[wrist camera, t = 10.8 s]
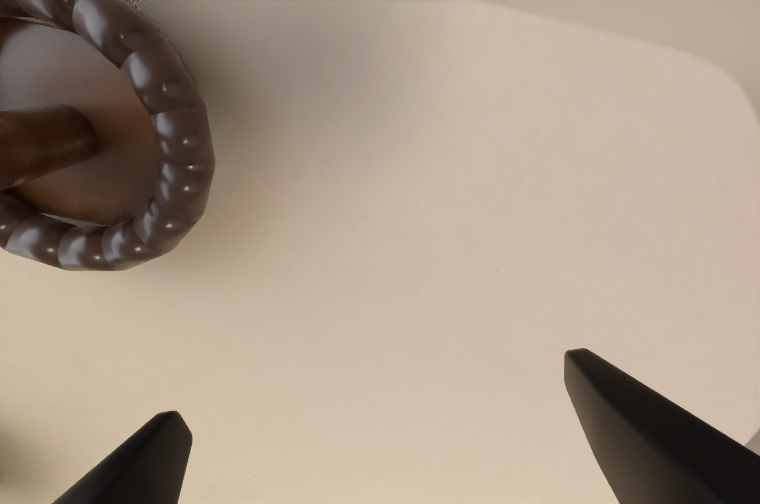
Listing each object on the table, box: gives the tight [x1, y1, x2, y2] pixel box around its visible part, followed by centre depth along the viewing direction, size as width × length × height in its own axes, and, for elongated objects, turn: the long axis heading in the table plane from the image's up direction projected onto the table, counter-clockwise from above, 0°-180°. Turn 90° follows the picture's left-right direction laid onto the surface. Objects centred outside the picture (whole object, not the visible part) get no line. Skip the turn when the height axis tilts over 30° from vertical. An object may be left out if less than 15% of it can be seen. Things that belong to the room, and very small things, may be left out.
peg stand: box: [0, 17, 160, 226], centre depth 14 cm, size 8×8×7 cm
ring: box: [0, 0, 215, 271], centre depth 16 cm, size 12×12×2 cm
